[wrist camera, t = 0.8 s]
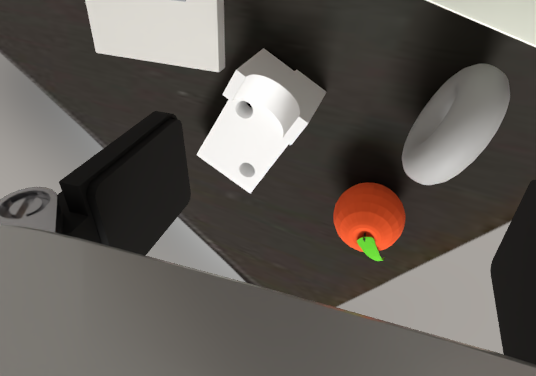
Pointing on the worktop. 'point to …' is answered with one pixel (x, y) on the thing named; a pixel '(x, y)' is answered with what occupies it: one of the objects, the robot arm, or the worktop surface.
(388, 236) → the clementine
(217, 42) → the plate
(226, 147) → the bracket
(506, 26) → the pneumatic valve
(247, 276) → the worktop surface
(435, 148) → the donut
